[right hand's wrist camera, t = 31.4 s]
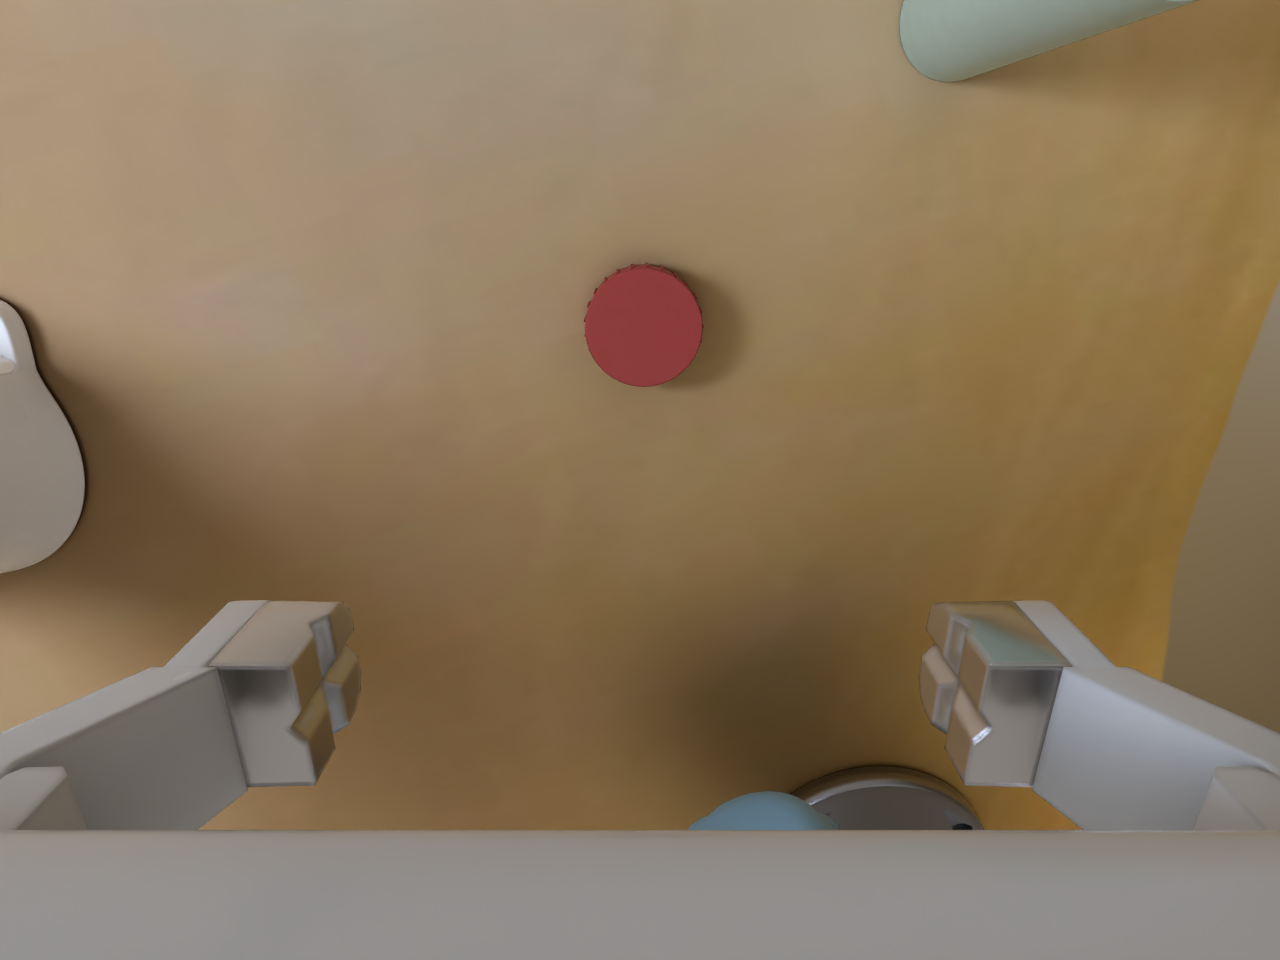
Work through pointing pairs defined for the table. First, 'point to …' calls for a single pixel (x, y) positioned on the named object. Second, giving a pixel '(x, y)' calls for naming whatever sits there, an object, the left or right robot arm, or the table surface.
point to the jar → (1006, 30)
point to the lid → (643, 325)
